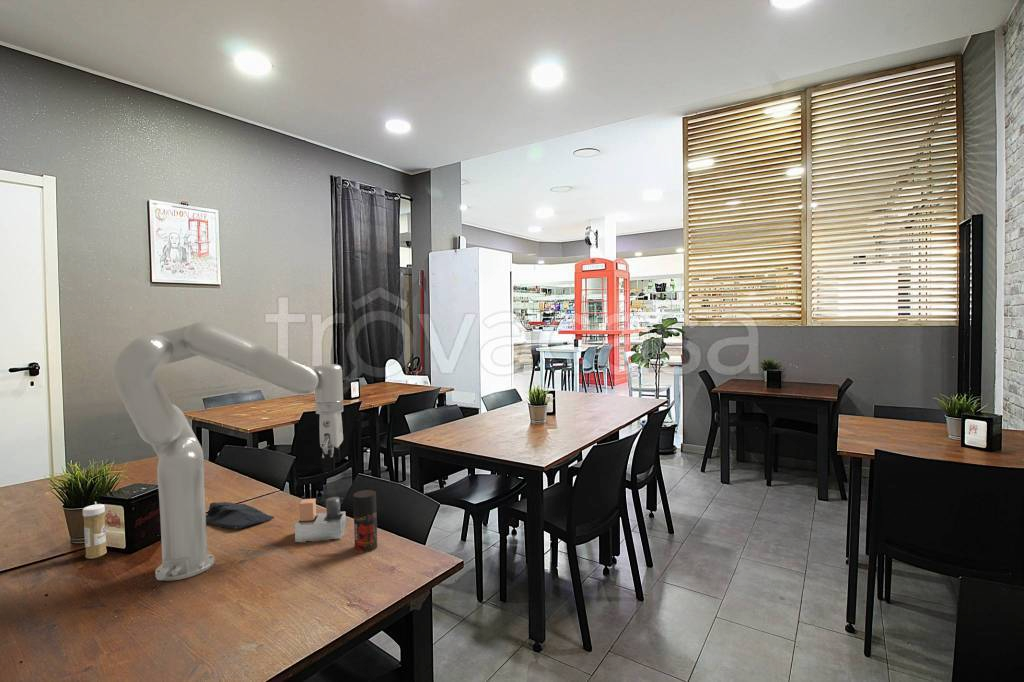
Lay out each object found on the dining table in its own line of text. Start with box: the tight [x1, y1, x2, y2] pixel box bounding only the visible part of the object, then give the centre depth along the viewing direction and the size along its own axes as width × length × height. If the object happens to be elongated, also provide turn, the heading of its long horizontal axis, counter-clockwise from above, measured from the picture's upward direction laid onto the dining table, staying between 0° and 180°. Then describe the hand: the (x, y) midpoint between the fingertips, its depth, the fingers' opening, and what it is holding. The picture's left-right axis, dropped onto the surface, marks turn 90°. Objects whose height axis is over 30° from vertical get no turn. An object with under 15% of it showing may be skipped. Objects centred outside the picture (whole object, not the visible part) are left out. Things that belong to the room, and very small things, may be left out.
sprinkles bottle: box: [82, 503, 108, 560], centre depth 134 cm, size 5×5×13 cm
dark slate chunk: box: [206, 501, 275, 530], centre depth 157 cm, size 15×22×5 cm
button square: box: [299, 497, 317, 521], centre depth 144 cm, size 4×4×5 cm
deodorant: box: [352, 489, 378, 554], centre depth 136 cm, size 6×6×15 cm
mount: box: [294, 511, 347, 543], centre depth 144 cm, size 8×12×6 cm, turn 99°
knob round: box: [325, 496, 341, 519], centre depth 145 cm, size 4×4×5 cm
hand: (331, 466), depth 144 cm, fingers open, 7 cm apart
